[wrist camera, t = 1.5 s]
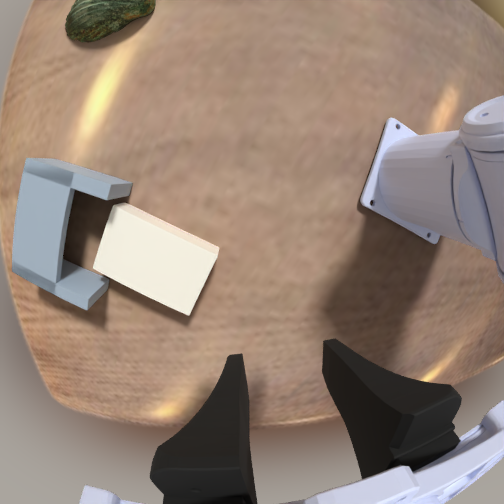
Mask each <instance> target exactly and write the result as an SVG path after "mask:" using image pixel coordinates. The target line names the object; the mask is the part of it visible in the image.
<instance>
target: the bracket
mask: <svg viewBox="0 0 504 504" xmlns="http://www.w3.org/2000/svg"><path fill="white" fill-rule="evenodd" d="M132 184H133V183H131V182H128V181H125V180H122V179H119V178H116V177H113V176H110V175H106V174H103V173H100V172H97V171H94V170H90V169H87V168H84V167H81V166H77V165H74V164H71V163H67V162H64V161H61V160H57V159H48V158H26V162H25V166H24V171H23V175H22V180H21V185H20V191H19V197H18V203H17V210H16V218H15V227H14V238H13V255H12V272H14V273H16V274H17V275H19V276H21V277H23V278H24V279H26V280H28V281H30V282H31V283H33V284H35V285H37V286H39V287H40V288H42V289H44V290H46V291H48V292H50V293H52V294H54V295H56V296H58V297H60V298H62V299H64V300H66V301H68V302H70V303H72V304H74V305H76V306H78V307H81V308H83V309H85V310H88V309H89V308H90V307H91V306H92V305H93V304H94V303H95V302H96V301H97V300H98V299H99V298H100V297H101V296H102V295H103V294H104V293H105V292H106V291H107V290H108V285H109V279H108V278H106V277H103V276H101V275H99V274H96V273H94V272H91V271H89V270H87V269H84V268H82V267H80V266H78V265H75V264H73V263H71V262H69V261H66V260H64V259H63V252H64V245H65V238H66V232H67V226H68V220H69V215H70V210H71V205H72V201H73V196H74V192H75V189H76V190H79V191H82V192H84V193H87V194H90V195H93V196H96V197H99V198H102V199H105V200H111V199H115V198H120V197H125V196H129V194H130V191H131V187H132Z"/></svg>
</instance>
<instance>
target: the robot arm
mask: <svg viewBox="0 0 504 504" xmlns="http://www.w3.org/2000/svg"><path fill="white" fill-rule="evenodd" d="M396 125H397V126H398V129H397V128H396ZM371 200H373V205H372V206H371V205H370V201H371ZM360 202H361V204H362V205H363V206H365V207H367V208H369V209H371V210H373V211H375V212H376V213H378V214H380V215H382V216H384V217H386V218H388V219H390V220H392V221H393V222H395V223H397V224H399V225H401V226H403V227H404V228H406V229H408V230H410V231H412V232H413V233H415V234H417V235H419V236H420V237H422V238H424V239H425V240H427V241H429V242H430V243H433V244H436V243H437V242H438V240H439V237H440V235H442V236H444V237H447V238H450V239H453V240H455V241H458V242H461V243H464V244H466V245H469V246H472V247H474V248H477V249H480V250H481V251H482V254H483V256H485V257H487V258H490V259H492V260H494V261H496V265H497V271H498V274H499V277H500V279H501V281H502V282H503V284H504V95H503V96H500V97H497V98H494V99H491V100H488V101H486V102H484V103H482V104H480V105H478V106H476V107H475V108H473V109H472V110H470V111H469V112H468V113H467V114H466V115H465V117H464V119H463V122H462V124H461V126H460V128H459V130H457V131H449V132H440V133H433V134H426V135H417V134H416V133H414V132H413V131H412V130H410V129H409V128H407V127H406V126H405V125H403V124H402V123H400V122H399V121H397V120H396V119H394V118H389V119H388V120H387V122H386V125H385V128H384V131H383V135H382V138H381V141H380V144H379V147H378V150H377V153H376V156H375V159H374V162H373V165H372V168H371V171H370V174H369V176H368V179H367V182H366V185H365V187H364V190H363V193H362V195H361V199H360ZM428 233H429V234H428ZM427 234H428V236H427ZM322 373H323V376H324V379H325V382H326V385H327V388H328V390H329V392H330V394H331V396H332V398H333V400H334V402H335V404H336V406H337V408H338V410H339V412H340V414H341V416H342V418H343V420H344V422H345V424H346V427H347V430H348V432H349V435H350V438H351V441H352V444H353V448H354V451H355V454H356V457H357V460H358V464H359V468H360V472H361V476H362V480H359V481H356V482H353V483H350V484H346V485H343V486H340V487H336V488H332V489H329V490H326V491H323V492H320V493H317V494H315V495H313V496H311V497H309V498H307V499H305V500H299V501H294V502H288V503H281V504H444V503H445V502H447V501H449V500H450V499H451V498H453V497H454V496H456V495H457V494H459V493H460V492H461V491H463V490H464V489H465V488H467V487H468V486H469V485H471V484H472V483H473V482H474V481H476V480H477V479H478V478H480V477H481V476H482V475H483V474H485V473H486V472H487V471H488V470H489V469H490V468H492V467H493V466H494V465H495V464H496V463H497V462H498V461H500V460H501V459H502V458H503V457H504V401H503V400H502V401H500V402H499V403H498V404H497V405H495V406H494V407H493V408H491V409H490V410H489V411H488V412H487V413H486V415H485V416H484V418H483V419H482V422H481V423H480V424H478V425H477V426H476V427H474V428H473V429H471V430H470V431H469V432H467V433H465V434H464V435H462V436H461V437H459V438H458V436H457V435H456V434H455V432H454V431H453V430H454V429H455V426H454V424H453V423H452V420H453V419H454V417H455V415H456V413H457V411H458V410H459V407H460V405H461V399H462V398H461V396H460V395H459V394H458V392H457V391H456V390H455V389H454V388H453V387H452V386H451V385H449V384H437V383H429V382H424V381H419V380H415V379H411V378H407V377H404V376H401V375H398V374H395V373H393V372H391V371H388V370H386V369H384V368H382V367H380V366H378V365H376V364H374V363H372V362H370V361H369V360H367V359H365V358H363V357H362V356H360V355H359V354H357V353H356V352H354V351H353V350H351V349H350V348H348V347H347V346H345V345H344V344H343V343H341V342H340V341H338V340H337V339H330V340H325V341H323V365H322ZM150 479H151V480H152V482H153V483H154V484H155V485H156V487H157V488H158V489H159V490H160V491H161V492H162V493H163V494H164V499H163V504H257V498H256V491H255V484H254V476H253V468H252V461H251V452H250V442H249V395H248V386H247V380H246V374H245V367H244V361H243V355H242V354H234V355H229V356H228V357H227V361H226V364H225V367H224V369H223V372H222V374H221V376H220V378H219V380H218V382H217V384H216V386H215V388H214V390H213V391H212V393H211V395H210V396H209V398H208V399H207V401H206V402H205V404H204V405H203V406H202V408H201V409H200V410H199V412H198V413H197V414H196V415H195V416H194V417H193V418H192V420H191V421H190V422H189V423H188V424H187V425H185V426H184V427H183V428H182V429H181V430H180V431H179V432H178V433H177V434H175V435H174V436H173V437H172V438H170V439H169V440H167V441H166V442H165V443H163V444H162V445H160V446H159V447H158V448H157V450H156V453H155V456H154V458H153V461H152V466H151V472H150ZM79 504H143V503H137V502H131V501H126V500H121V499H120V498H119V497H118V496H117V495H116V494H114V493H112V492H110V491H108V490H104V489H100V488H96V487H93V486H89V485H85V487H84V489H83V493H82V496H81V499H80V502H79Z"/></svg>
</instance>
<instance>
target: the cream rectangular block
mask: <svg viewBox="0 0 504 504" xmlns="http://www.w3.org/2000/svg"><path fill="white" fill-rule="evenodd" d="M218 252H219V247H217V246H215V245H213V244H211V243H209V242H207V241H204V240H202V239H200V238H198V237H196V236H194V235H192V234H190V233H188V232H186V231H184V230H181V229H179V228H177V227H175V226H173V225H171V224H169V223H167V222H165V221H163V220H161V219H158V218H156V217H154V216H152V215H150V214H148V213H146V212H144V211H142V210H140V209H138V208H136V207H134V206H132V205H130V204H127V203H125V202H124V203H120V204H116V205H113V208H112V210H111V213H110V216H109V219H108V221H107V224H106V227H105V230H104V233H103V236H102V239H101V243H100V246H99V249H98V252H97V256H96V259H95V263H94V266H93V269H95V270H97V271H99V272H100V273H102V274H104V275H106V276H108V277H110V278H112V279H114V280H115V281H117V282H119V283H121V284H123V285H125V286H127V287H129V288H131V289H133V290H135V291H137V292H139V293H141V294H143V295H145V296H147V297H149V298H151V299H153V300H156V301H158V302H160V303H162V304H164V305H166V306H168V307H171V308H173V309H175V310H177V311H179V312H182V313H184V314H186V315H188V316H189V315H190V313H191V311H192V309H193V306H194V304H195V302H196V300H197V298H198V296H199V294H200V292H201V290H202V287H203V285H204V283H205V281H206V279H207V277H208V275H209V273H210V271H211V269H212V267H213V265H214V263H215V261H216V259H217V257H218Z"/></svg>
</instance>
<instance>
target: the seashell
mask: <svg viewBox="0 0 504 504" xmlns="http://www.w3.org/2000/svg"><path fill="white" fill-rule="evenodd" d="M155 2H156V0H76V1H75V3H74V5H73V6H72V8H71V11H70V12H69V14H68V16H67V18H66V21H67V22H66V24H65V26H66V28H67V29H66V30H67V32H68V34H67V35H68V36H70V39H72V40H79V41H80V42H93V41H96V40H99V39H101V38H103V37H105V36H107V35H109V34H111V33H113V32H116V31H119V30H121V29H122V28H124V27H125V25H127V24H128V23H129V22H131V21H133V20H134V19H136V18H139V17H142V16H147V15H149V14H150V13H151V12H152V11H153V10H154V8H155Z"/></svg>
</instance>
